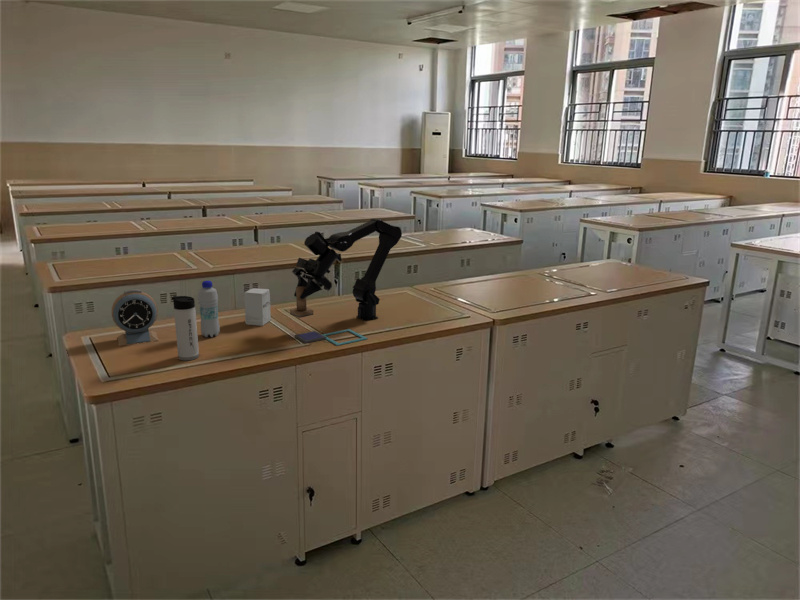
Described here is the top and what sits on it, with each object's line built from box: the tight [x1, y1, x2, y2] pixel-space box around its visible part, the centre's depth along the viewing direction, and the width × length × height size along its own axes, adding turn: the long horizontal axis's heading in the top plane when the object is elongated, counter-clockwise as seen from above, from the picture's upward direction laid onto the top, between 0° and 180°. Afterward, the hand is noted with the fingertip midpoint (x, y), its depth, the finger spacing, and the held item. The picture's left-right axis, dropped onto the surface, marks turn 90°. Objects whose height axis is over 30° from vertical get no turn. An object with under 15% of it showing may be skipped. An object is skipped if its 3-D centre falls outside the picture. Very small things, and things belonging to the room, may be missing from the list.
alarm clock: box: [111, 288, 159, 347], centre depth 194 cm, size 14×10×18 cm
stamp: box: [289, 286, 314, 319], centre depth 203 cm, size 6×6×10 cm
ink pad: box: [294, 330, 327, 344], centre depth 201 cm, size 8×8×1 cm
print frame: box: [321, 328, 368, 347], centre depth 202 cm, size 12×12×1 cm
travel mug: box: [171, 295, 200, 362], centre depth 178 cm, size 6×7×20 cm
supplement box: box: [243, 287, 272, 327], centre depth 215 cm, size 7×7×13 cm
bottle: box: [197, 280, 221, 338], centre depth 199 cm, size 7×7×20 cm
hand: (297, 297), depth 201 cm, fingers closed on stamp, 3 cm apart
